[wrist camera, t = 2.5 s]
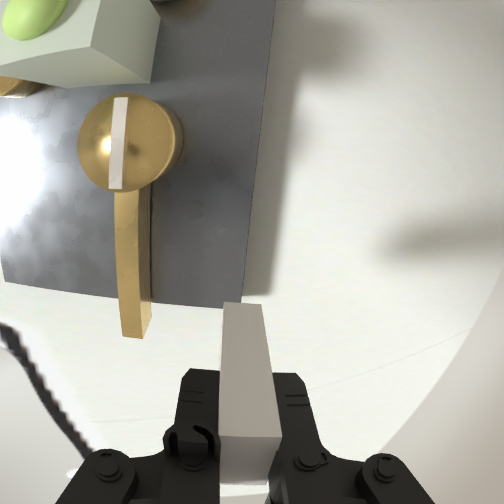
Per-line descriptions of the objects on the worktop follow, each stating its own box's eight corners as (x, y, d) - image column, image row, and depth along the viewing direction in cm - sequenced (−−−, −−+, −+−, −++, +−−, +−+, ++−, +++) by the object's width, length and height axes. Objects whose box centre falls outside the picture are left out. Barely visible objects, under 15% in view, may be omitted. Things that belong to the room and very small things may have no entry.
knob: (109, 101, 16) (76, 94, 12) (187, 102, 17) (173, 91, 12) (110, 311, 21) (88, 348, 17) (175, 318, 22) (165, 359, 17)
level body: (66, 88, 16) (-30, 71, 7) (77, 26, 14) (-5, -20, 5) (149, 83, 16) (83, 42, 7) (160, 18, 15) (112, -58, 6)
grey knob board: (16, 272, 22) (-22, 303, 16) (64, -78, 10) (38, -105, 5) (239, 296, 24) (242, 343, 18) (285, -96, 12) (298, -136, 7)
